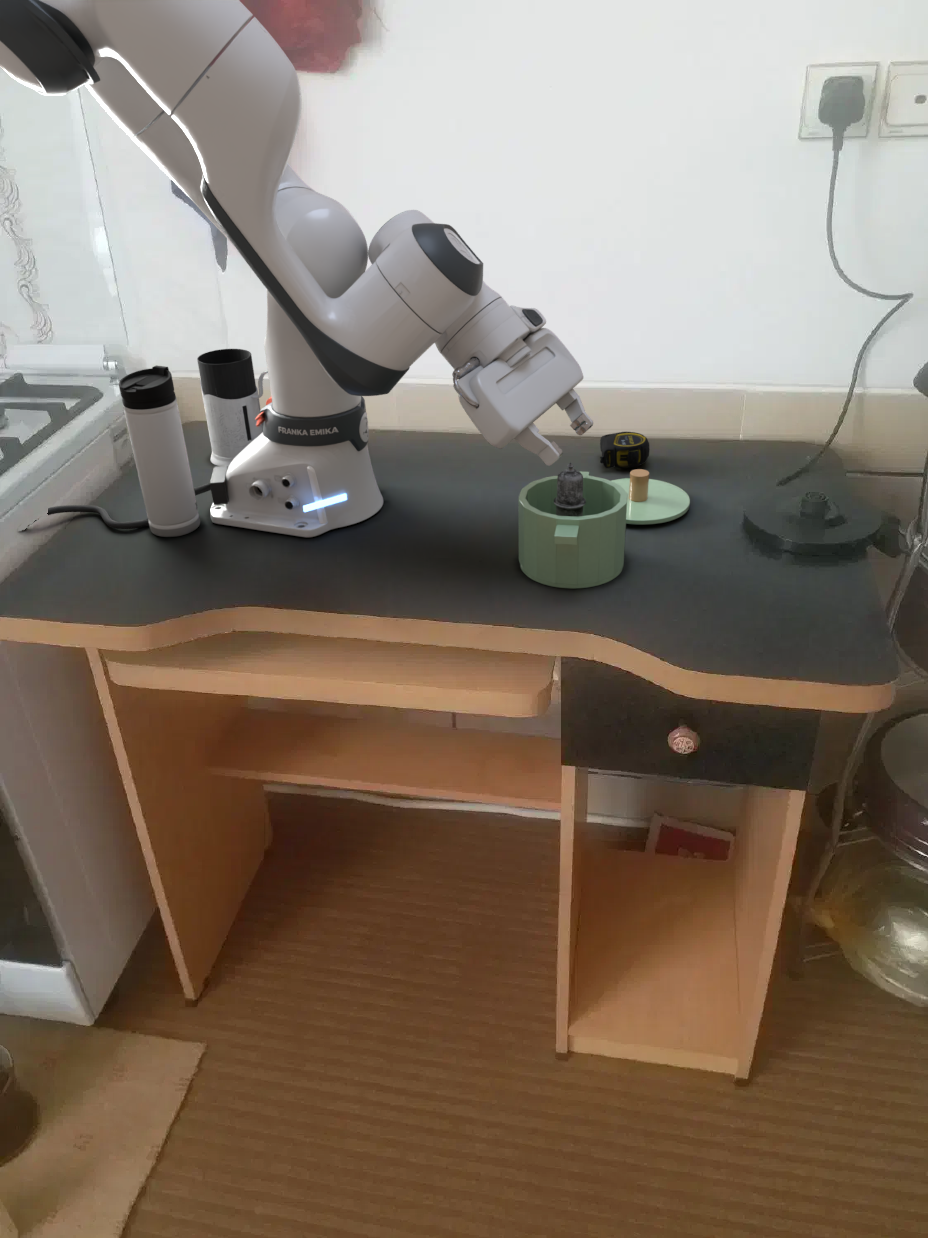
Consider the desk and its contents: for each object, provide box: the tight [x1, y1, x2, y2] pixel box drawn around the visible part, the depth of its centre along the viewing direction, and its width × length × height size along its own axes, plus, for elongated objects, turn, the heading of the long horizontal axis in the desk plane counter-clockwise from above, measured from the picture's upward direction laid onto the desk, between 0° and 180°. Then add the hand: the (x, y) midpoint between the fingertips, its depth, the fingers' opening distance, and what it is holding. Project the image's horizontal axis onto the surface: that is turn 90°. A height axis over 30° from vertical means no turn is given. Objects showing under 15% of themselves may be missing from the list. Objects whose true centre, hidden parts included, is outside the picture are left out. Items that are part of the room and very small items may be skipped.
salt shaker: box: [554, 462, 586, 517], centre depth 111 cm, size 6×6×12 cm
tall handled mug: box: [196, 348, 268, 467], centre depth 142 cm, size 9×14×15 cm, turn 65°
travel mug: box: [118, 365, 201, 538], centre depth 121 cm, size 6×7×20 cm
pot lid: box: [611, 468, 691, 526], centre depth 126 cm, size 13×13×5 cm
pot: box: [517, 470, 628, 589], centre depth 112 cm, size 12×17×8 cm
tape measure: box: [599, 431, 650, 469], centre depth 138 cm, size 7×7×4 cm
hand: (572, 444), depth 108 cm, fingers open, 8 cm apart
